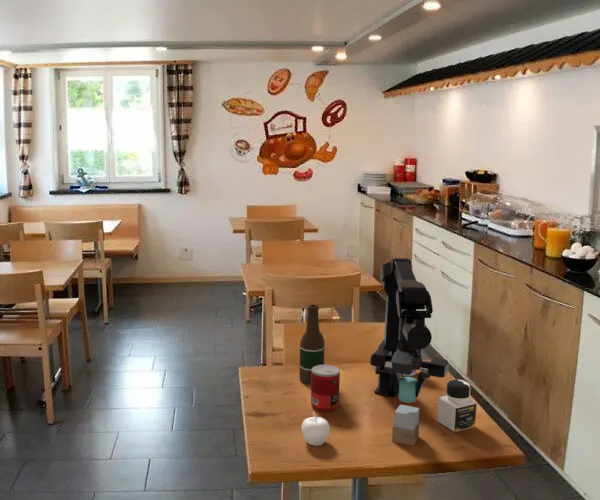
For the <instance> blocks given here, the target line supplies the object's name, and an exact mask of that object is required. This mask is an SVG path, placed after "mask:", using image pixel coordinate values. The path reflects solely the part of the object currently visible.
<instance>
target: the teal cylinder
mask: <svg viewBox="0 0 600 500" xmlns="http://www.w3.org/2000/svg"><path fill="white" fill-rule="evenodd" d="M417 380H418V379H417V378H415V377H413V376H401V378H400V379H399V394H398V400H399V401H400V402H403V403H414V402H416V401H417V397H416V387H417Z"/></svg>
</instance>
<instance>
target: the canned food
mask: <svg viewBox="0 0 600 500" xmlns="http://www.w3.org/2000/svg"><path fill="white" fill-rule="evenodd" d="M340 370H341V369H340V368H338V367H337V366H336V365H335V366H334V365H332V364H331V365H330V364H324V365H317V366H314V367H313V368H312V374H311V384H310V386H311V387H310V389H311V390H310V392H311V393H310V395H311V396H310V404H311V407H312V408H313V409H314V410H317V411H319V412H333V411H335V410H337V409H338V407H339V404H340V379H341V378H340V377H341V371H340Z"/></svg>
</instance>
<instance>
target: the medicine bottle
mask: <svg viewBox="0 0 600 500" xmlns="http://www.w3.org/2000/svg"><path fill="white" fill-rule="evenodd" d="M470 396H471V385H470V383H469V382H467V381H466V380H462V379H451V380H449V381H448V382H447V383H446V395H443V396H439V398H438V409H437V422H438V423H440V424H441V425H442V426H444V427H445V428H447V429H449V430H450V431H451V432H453V433H457V432H462V431H464V430H468V429H472V428H475V427H476V415H477V401H475V400H473V399H471V398H470Z"/></svg>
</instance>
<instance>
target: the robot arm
mask: <svg viewBox="0 0 600 500" xmlns="http://www.w3.org/2000/svg"><path fill="white" fill-rule="evenodd" d="M379 281H380V282H381V286H382V287H383V290H384V292H385V294H386V300H385V313H384V314H385V318H384V332H383V340H382V341H381V342H380V344H379V345H378V346H377V349H376V350H375V351H374V352H373V353H372V354H371V355H370V359H369V361H370V362H369V365H370V366H371V367H373V371H374V374H375V375H378V380H377V381H378V382H377V383H378V384H377V385H378V386H377V387H376V388H375V389H374V392H373V393H374V394H378V395H385V396H390V397H396V396H397V395H399V379H400V378H402V375H404V374H405V375H410V374H411V373H412V370H416V371H419V372H418V373H417V375H416V376H417V379H416V380H417V387H416V398H418V397H419V395H420V392H421V390H422V388H423V386H424V383H425V381H426V379H429V378H431V377H435V378H445V376H446V375H447V373H448V372H449V370H450V363H449V361H448V360H447V359H443V358H437V357H432V359H431V360H430V361H427V360H423V353H422V350H423V349H426V348H428V346H430V344H431V342H432V340H433V339H432V332H431V330H430V329H429V328H428V326H427V325H426V319H431V318H432V314H433V312H434V309H433V302H432V297H431V294H430V291H429V290H427V287H426V285H425V284H424V283H423V282H420V281H418V280H417V279H416V276H415V274H414V272H413V265H412V261H411V259H410V258H406V257H394V258H391V260H389V262H386V263H384V264H382V266H381V268H380V272H379ZM401 374H402V375H401Z"/></svg>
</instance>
